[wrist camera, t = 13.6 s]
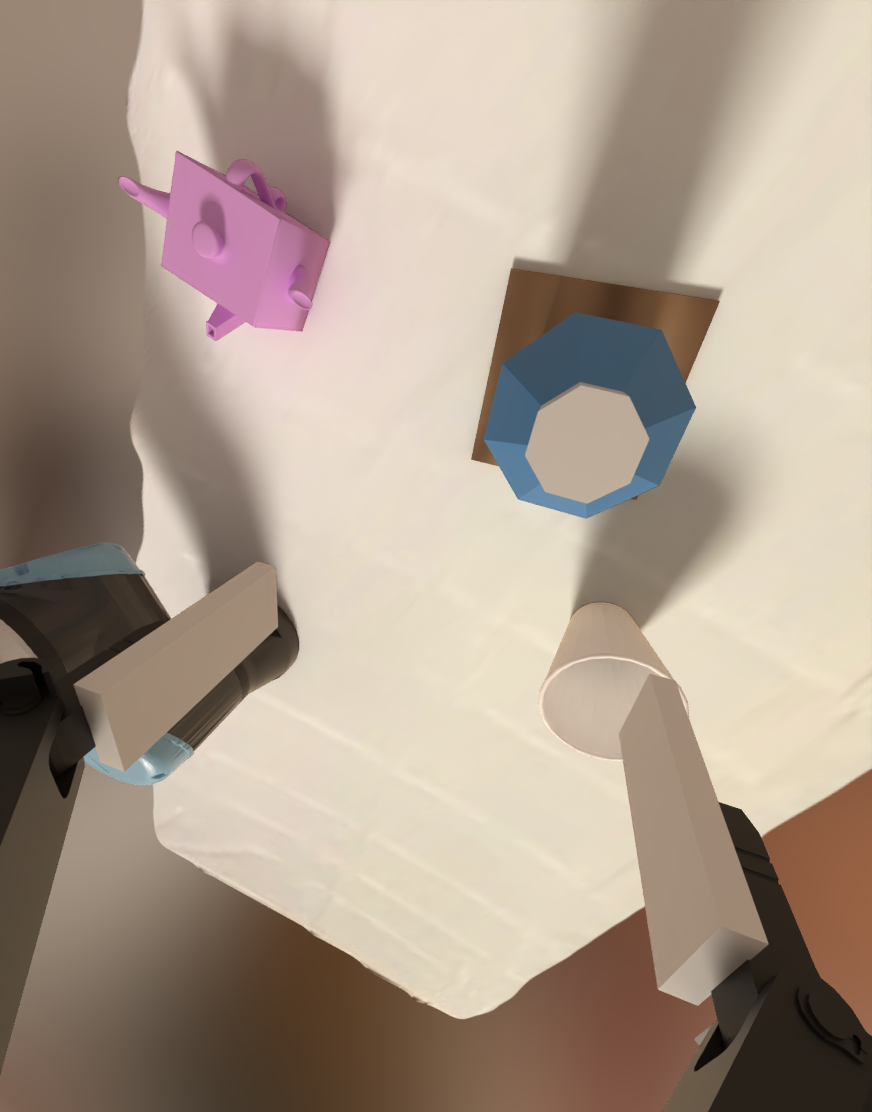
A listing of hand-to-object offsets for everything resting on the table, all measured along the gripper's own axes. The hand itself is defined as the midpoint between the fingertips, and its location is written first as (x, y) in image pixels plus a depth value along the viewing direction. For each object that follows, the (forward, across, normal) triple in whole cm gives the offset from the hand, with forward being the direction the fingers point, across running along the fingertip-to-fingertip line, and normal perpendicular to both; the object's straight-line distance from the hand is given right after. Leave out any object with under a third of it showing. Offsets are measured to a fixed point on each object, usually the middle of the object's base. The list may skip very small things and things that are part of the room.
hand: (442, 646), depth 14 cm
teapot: (+31, -26, +13) cm, 43 cm away
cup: (+30, +13, -16) cm, 37 cm away
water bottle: (+30, +4, +7) cm, 31 cm away
